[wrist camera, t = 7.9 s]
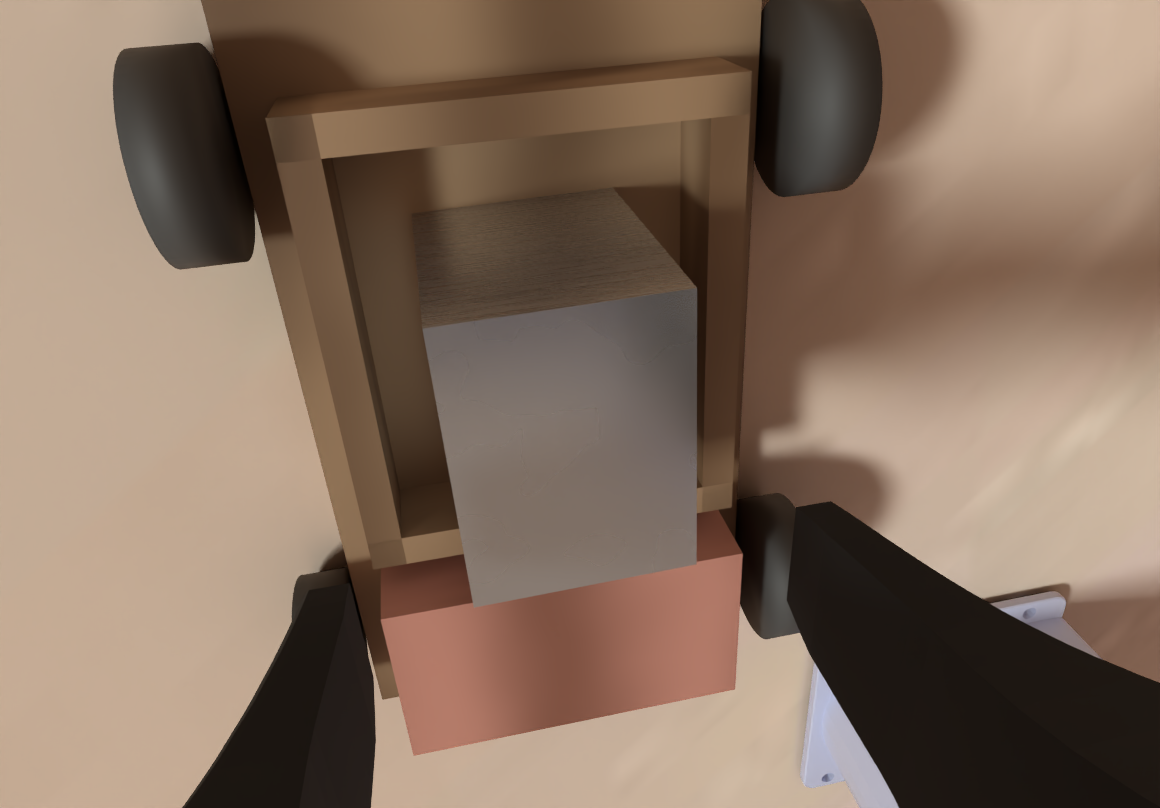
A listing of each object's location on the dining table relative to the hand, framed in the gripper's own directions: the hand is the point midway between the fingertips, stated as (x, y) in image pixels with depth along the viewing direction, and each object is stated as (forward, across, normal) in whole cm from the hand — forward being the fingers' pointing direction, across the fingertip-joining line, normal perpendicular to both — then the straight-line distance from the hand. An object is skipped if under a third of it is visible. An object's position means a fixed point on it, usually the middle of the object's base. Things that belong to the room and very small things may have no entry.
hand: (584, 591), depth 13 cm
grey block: (+8, 0, -1) cm, 8 cm away
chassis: (+9, 0, +1) cm, 9 cm away
